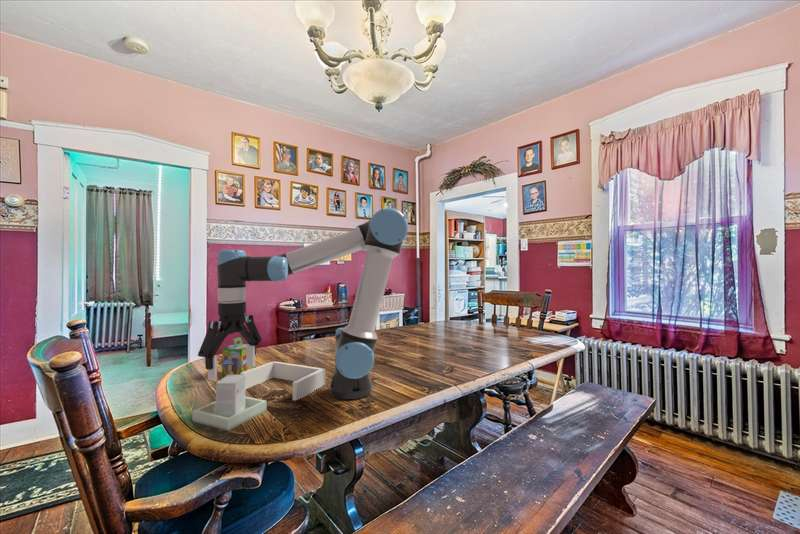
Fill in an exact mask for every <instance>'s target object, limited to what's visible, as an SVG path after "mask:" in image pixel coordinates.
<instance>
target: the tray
mask: <svg viewBox="0 0 800 534" xmlns="http://www.w3.org/2000/svg"><path fill="white" fill-rule="evenodd" d="M267 402H268V401H267V400H264V399H260V398H255V397H250V396H246V395H245V408H244V409H243V410H242V411H241V412H239V413H237V414H235V415H233V416H231V417H229V418H228V417H224V416H220V415H216V400H215V401H212V402H210V403H208V404H205V405H203V406H201V407H198V408H196V409H193V410H192V411H191V412H192V413H191V414H192V415H191V418H192V419H191V420H192V421H191V422H192V423H197V424H199V425H200V424H201V425H205V426H207V427H213V428H215V429H219V430H222V429H223V431H227V432H229V431H230V430H232V429H234V428H237V427H238V426H240V425H242V424H244V423H246V422H247V421H248V422H249V421H250V420H252V419H254V418H255V417H257V416H259V415H261V414H263V413H265V412H267V411H268V410H267V409H268V408H267V405H268V403H267Z"/></svg>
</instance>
